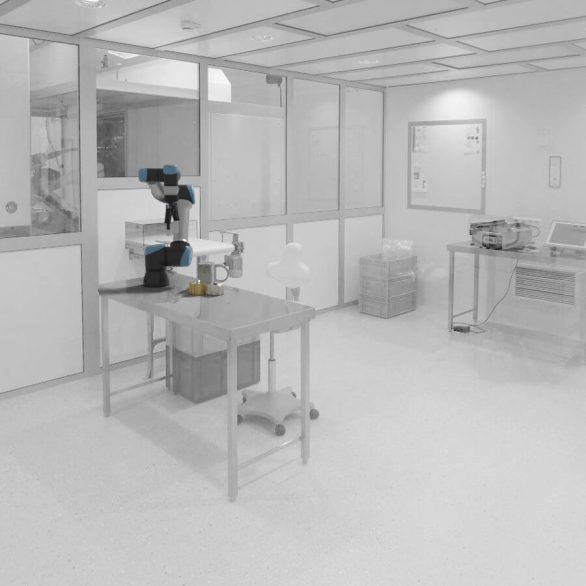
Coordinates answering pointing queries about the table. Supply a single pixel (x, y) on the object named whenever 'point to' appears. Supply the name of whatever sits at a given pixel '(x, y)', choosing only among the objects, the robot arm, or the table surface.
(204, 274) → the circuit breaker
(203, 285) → the brass gear
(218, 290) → the gear
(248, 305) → the table surface
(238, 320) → the table surface
